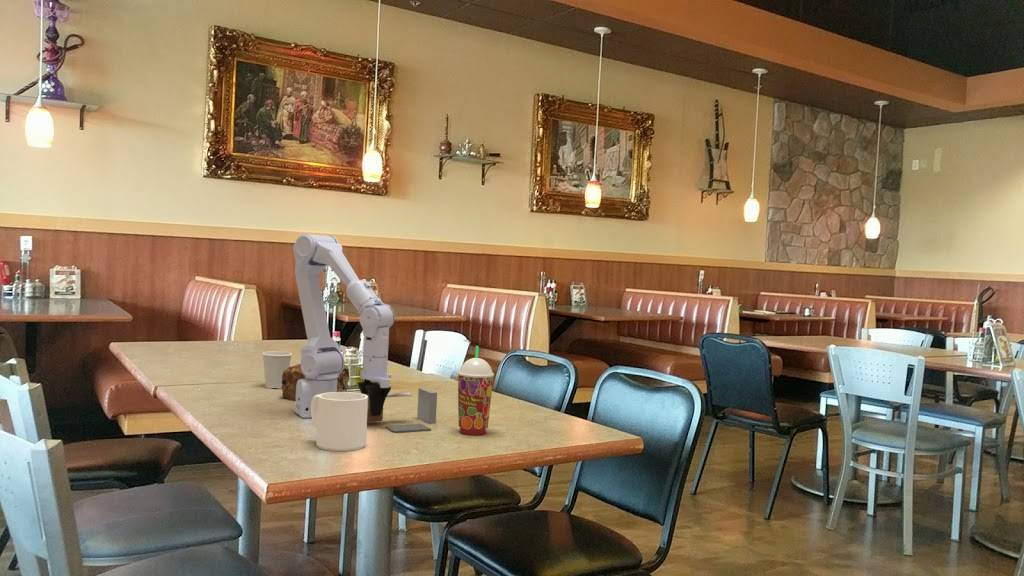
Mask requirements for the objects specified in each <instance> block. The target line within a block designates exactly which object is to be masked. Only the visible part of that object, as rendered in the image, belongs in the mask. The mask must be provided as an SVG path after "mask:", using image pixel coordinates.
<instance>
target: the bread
mask: <svg viewBox="0 0 1024 576" xmlns="http://www.w3.org/2000/svg"><path fill="white" fill-rule="evenodd" d="M299 379H306V378H305V375H304V374H303V372H302V370H301V363H297V364H296V365H290V366H289V368H287V369H285V370H284V372H283V374H282V388H281V389H280V390H281V391H282V393H281V394H282V398H283V399H284V400H285V399H287V400H289V399H290V400H289V401H296V385H297V381H298V380H299ZM349 382H350V369H349V367H348V366H347V365H346V364H345V366H344V369H343V371H342V372H341V373H339V377H338V378H337V392H348V388H349Z"/></svg>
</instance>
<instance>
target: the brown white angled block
mask: <svg viewBox="0 0 1024 576" xmlns="http://www.w3.org/2000/svg"><path fill="white" fill-rule="evenodd" d="M365 395H367V396H368V407H367V423H373V422H374V423H375V422H383V421H384V420H383V419H384V418H383V417H384V408H383V409H382V412H381V415H380V416H372V415H371V412H370V400H369V395H368V394H365ZM398 397H400V398H403V397H405V398H406V397H412V393H410V392H408V391H407V392H389V393H388V395H387V397H386V398H398Z"/></svg>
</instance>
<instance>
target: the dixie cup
mask: <svg viewBox="0 0 1024 576" xmlns="http://www.w3.org/2000/svg"><path fill="white" fill-rule="evenodd" d="M261 355H262V359H263V372H264V384H265V388H266V387H267V388H266V389H269V388H282V374H283V372H284V370H285V369H287V368H289V367H291V360H292V359H291V358H292V356H293V353H292V352H289V351H281V350H279V351H273V350H272V351H271V350H270V351H263V352H262V353H261Z"/></svg>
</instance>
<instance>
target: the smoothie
mask: <svg viewBox="0 0 1024 576" xmlns="http://www.w3.org/2000/svg"><path fill="white" fill-rule="evenodd" d="M479 347H480V345H475V355H474V357H471V358H469V359H467V360H466V361H464V362H463V364H462V365H461V367H460V369H459V370H458V371H457V402H458V404H457V409H458V415H457V417H458V418H457V419H458V420H457V421H458V427H459V430H460V433H462V434H465V435H468V436H469V435H471V436H477V435H478V436H480V435H484V434H485V433H486V430H487V429H488V427H489V420H490V411H491V403H492V395H493V393H492V391H493V385H494V376H495V373H494V372H493V369H492V366H491V365H490V363H488V361H487V360H485V359H483V358H481V357H479Z"/></svg>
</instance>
